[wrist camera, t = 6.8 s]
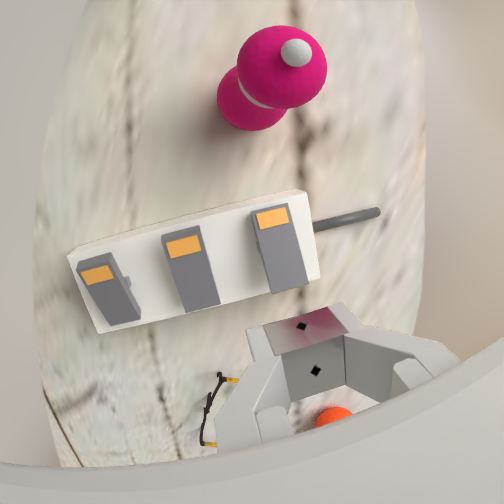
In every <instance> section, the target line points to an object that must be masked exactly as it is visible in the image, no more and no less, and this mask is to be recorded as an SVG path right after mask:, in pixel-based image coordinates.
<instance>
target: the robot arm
mask: <svg viewBox="0 0 504 504" xmlns="http://www.w3.org/2000/svg"><path fill="white" fill-rule="evenodd" d="M245 331H246V336H247V339H248V343H249V347H250V351H251V354H252V358H253V362H252V363H250V364H249V365H248V367H247V368H246V370H245V372H244V373H243V375H242V376H241V378H240V380H239V381H238V383H237V384H236V386H235V388H234V389H233V391H232V392H231V394H230V396H229V397H228V399H227V400H226V402H225V403H224V405H223V407H222V408H221V410H220V411H219V413H218V414H217V416H216V417H215V419H214V425H215V434H216V442H217V450H218V454H213V455H207V456H202V457H196V458H189V459H183V460H176V461H169V462H160V463H151V464H141V465H129V466H113V467H45V466H29V465H18V464H9V463H1V462H0V504H504V336H503V337H502V338H500V339H499V340H497V341H496V342H494V343H493V344H491V345H490V346H489V347H487V348H485V349H484V350H482V351H480V352H479V353H477V354H475V355H474V356H472V357H470V358H469V359H467V360H465V361H464V362H462V361H461V360H460V359H458V358H457V357H456V356H455V355H454V354H453V353H452V352H451V351H450V350H449V349H447V348H446V347H445V346H444V345H443V344H442V343H441V342H438V341H434V340H429V339H425V338H420V337H416V336H412V335H408V334H404V333H399V332H395V331H391V330H387V329H383V328H379V327H375V326H371V325H370V326H367V327H366V326H365V325H364V324H363V323H362V322H361V321H360V320H359V319H358V318H357V317H356V316H355V314H354V313H353V312H352V311H351V310H350V309H349V308H348V307H347V306H346V305H345V304H344V303H343V302H338V303H336V304H333V305H330V306H327V307H325V308H322V309H319V310H316V311H313V312H309V313H306V314H303V315H300V316H297V317H292V318H288V319H284V320H280V321H276V322H273V323H269V324H265V325H260V326H257V327H253V328H250V329H246V330H245ZM343 385H346V386H348V387H350V388H352V389H354V390H356V391H358V392H360V393H362V394H364V395H366V396H368V397H370V398H372V399H374V400H376V401H378V402H380V404H377V405H375V406H373V407H370V408H368V409H365V410H363V411H360V412H358V413H355V414H353V415H350V416H348V417H345V418H342V419H339V420H337V421H334V422H331V423H328V424H325V425H323V426H320V427H317V428H314V429H310V430H307V431H304V432H301V433H298V434H294V431H293V429H292V426H291V423H290V421H289V418H288V416H287V415H288V412H289V409H290V406H291V403H292V402H295V401H298V400H301V399H303V398H306V397H309V396H312V395H315V394H318V393H321V392H324V391H327V390H330V389H334V388H337V387H340V386H343Z"/></svg>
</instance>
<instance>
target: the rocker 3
mask: <svg viewBox="0 0 504 504" xmlns="http://www.w3.org/2000/svg"><path fill="white" fill-rule="evenodd" d="M250 216H251V220H252V223H253V227H254V231H255V235H256V238H257V242H258V246H259V250H260V254H261V258H262V261H263V265H264V269H265V273H266V277H267V280H268V284H269V288H270V292H271V293H272V294H275V293H279V292H282V291H286V290H289V289H293V288H297V287H300V286H304V285H307V284H309V281H308V277H307V273H306V269H305V265H304V261H303V258H302V254H301V250H300V246H299V242H298V239H297V235H296V231H295V227H294V224H293V220H292V216H291V213H290V209H289V206H288V203H283V204H279V205H275V206H271V207H267V208H262V209H258V210H254V211H251V212H250Z"/></svg>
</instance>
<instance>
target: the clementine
mask: <svg viewBox="0 0 504 504" xmlns="http://www.w3.org/2000/svg"><path fill="white" fill-rule="evenodd" d="M350 415H353V414H352V413H351V412H350V411H349V410H347V409H345V408H341V407H333V408H330V409H327V410H325V411H324V412H323V413H321V414H320V415H319V417H318V419H317V421H316V424H315V428H317V427H320V426H323V425H325V424H328V423H331V422H334V421H337V420H339V419H342V418H345V417H348V416H350Z"/></svg>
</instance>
